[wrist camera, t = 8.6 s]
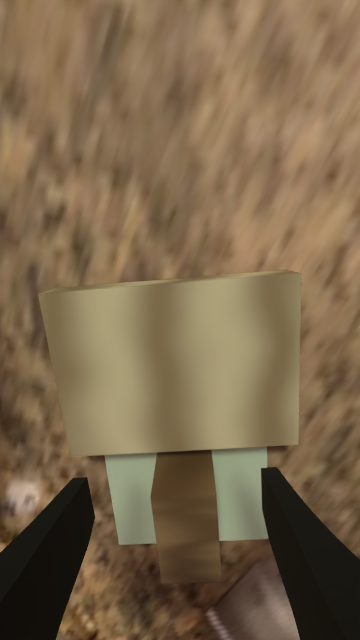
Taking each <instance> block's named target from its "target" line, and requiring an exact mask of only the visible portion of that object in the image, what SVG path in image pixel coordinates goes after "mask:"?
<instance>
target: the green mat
mask: <svg viewBox="0 0 360 640" xmlns="http://www.w3.org/2000/svg"><path fill="white" fill-rule="evenodd" d="M208 450H211V452H212V460H213V469H214V478H215V486H216V495H217V511H218V527H219V541H230V540H256V539H268V533H267V529H266V525H265V520H264V516H263V511H262V490H261V468H267V446H265V447H246V448H227V449H208ZM189 451H197V450H189ZM170 452H178V451H170ZM157 453H159V452H151V453H132V454H113V455H104V456H105V462H106V468H107V474H108V480H109V486H110V492H111V498H112V504H113V510H114V516H115V522H116V528H117V534H118V540H119V545H127V544H152V543H156V537H155V529H154V522H153V514H152V506H151V498H150V497H151V490H152V484H153V477H154V470H155V463H156V457H157Z"/></svg>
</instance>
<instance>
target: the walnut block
mask: <svg viewBox="0 0 360 640" xmlns="http://www.w3.org/2000/svg"><path fill="white" fill-rule="evenodd" d="M150 498H151V506H152V514H153V522H154V529H155V537H156V545H157V553H158V560H159V568H160V576H161V584H181V583H212V582H222V575H221V559H220V543H219V527H218V511H217V495H216V486H215V478H214V469H213V460H212V452H211V450H197V451H178V452H159V453H157V457H156V463H155V470H154V477H153V484H152V490H151V497H150Z"/></svg>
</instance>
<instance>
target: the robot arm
mask: <svg viewBox="0 0 360 640" xmlns="http://www.w3.org/2000/svg"><path fill="white" fill-rule="evenodd" d="M261 490H262V511H263V516H264V520H265V525H266V529H267V533H268V538H269V541H270V544H271V547H272V550H273V553H274V556H275V559H276V562H277V566H278V569H279V572H280V575H281V578H282V581H283V584H284V587H285V590H286V593H287V596H288V599H289V602H290V605H291V608H292V611H293V615H294V618H295V622H296V625H297V629H298V633H299V637H300V640H360V559H359V558H357V557H356V556H355V555H354V554H353V553H352V552H351V551H350V550H349V549H348V548H347V547H346V546H345V545H344V544H343V543H342V542H341V541H340V540H339V539H338V538H337V537H336V536H335V535H334V534H333V533H332V532H331V531H330V530H329V529H328V528H327V527H326V526H325V525H324V524H323V523H322V522H321V521H320V520H319V518H318V517H317V516H316V515H315V514H314V513H313V512H312V511H311V509H310V508H309V507H308V506H307V505H306V504H305V503H304V501H303V500H302V499H301V498H300V497H299V495H298V494H297V493H296V492H295V490H294V489H293V488H292V487H291V485H290V484H289V483H288V481H287V480H286V479H285V477H284V476H283V475H282V473H281V472H280V471H279V469H278V468H276V467H272V468H261ZM94 519H95V515H94V510H93V505H92V499H91V494H90V489H89V484H88V479H87V477H84V478H73V479H72V480H71V481H70V482H69V483H68V484H67V485H66V486H65V487H64V488H63V489H62V490H61V491H60V493H59V494H58V495H57V496H56V497H55V498H54V499H53V500H52V501H51V502H50V503H49V504H48V506H47V507H46V508H45V509H44V510H43V511H42V512H41V513H40V514H39V515H38V516H37V517H36V518H35V519H34V520H33V521H32V522H31V523H30V524H29V525H28V526H27V527H26V528H25V529H24V530H23V531H22V532H21V533H20V534H19V535H18V536H17V537H16V538H15V539H14V540H13V541H12V542H11V543H10V544H9V545H8V546H7V547H6V548H5V549H4V550H3V551H1V552H0V640H56V637H57V633H58V630H59V627H60V624H61V621H62V618H63V614H64V612H65V609H66V606H67V603H68V601H69V598H70V595H71V592H72V589H73V587H74V584H75V581H76V578H77V576H78V573H79V570H80V567H81V564H82V561H83V559H84V556H85V553H86V550H87V547H88V544H89V540H90V536H91V532H92V528H93V523H94Z"/></svg>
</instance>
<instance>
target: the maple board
mask: <svg viewBox="0 0 360 640" xmlns="http://www.w3.org/2000/svg"><path fill="white" fill-rule="evenodd" d="M38 296H39V301H40V306H41V311H42V316H43V321H44V326H45V331H46V336H47V341H48V346H49V351H50V356H51V361H52V366H53V371H54V376H55V381H56V386H57V391H58V396H59V401H60V406H61V411H62V416H63V421H64V426H65V431H66V436H67V441H68V446H69V451H70V456H71V457H75V456H94V455H113V454H132V453H151V452H170V451H189V450H208V449H227V448H246V447H265V446H284V445H298V429H299V373H300V316H301V273H298V272H293V271H289V270H279V271H266V272H254V273H241V274H228V275H216V276H203V277H191V278H178V279H165V280H153V281H140V282H128V283H115V284H102V285H90V286H77V287H65V288H56V289H52V290H49V291H46V292H43V293H40V294H38Z"/></svg>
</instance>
